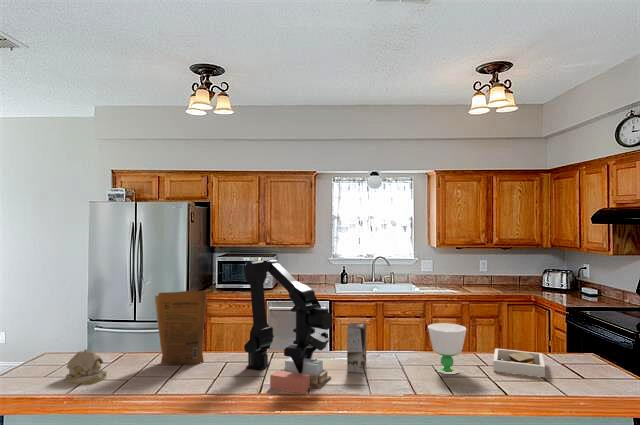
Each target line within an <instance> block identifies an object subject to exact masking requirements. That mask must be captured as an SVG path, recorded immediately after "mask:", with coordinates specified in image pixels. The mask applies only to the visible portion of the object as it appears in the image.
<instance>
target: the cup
mask: <svg viewBox="0 0 640 425" xmlns="http://www.w3.org/2000/svg"><path fill="white" fill-rule="evenodd" d="M427 329H428V334H429V339H430V344H431V347H432V351H434V353H436V354H438V355H440V356H442V357H441V358H440V364H441V366H444V368H441V369H440V370H442V371H445V372H452V371H454V370H453V369H451V368H450V367H453V365H454V359H453V357H454V356H458V355H460V354H461V353H462V351H463V348H464V343H465V338H466V333H467V327H465V326H464V325H460V324H456V323H449V322H448V323H447V322H446V323H444V322H438V323H431V324H429V325H427Z"/></svg>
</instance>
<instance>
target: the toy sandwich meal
mask: <svg viewBox="0 0 640 425" xmlns="http://www.w3.org/2000/svg"><path fill="white" fill-rule="evenodd" d="M526 352H527V351H525V352H520V353H515V354H511V355H509V358H510V359H508V360H500V361H509V362H518V363H526V364H535V362H534V356H532V355H531V354H529V353H526ZM535 365H536V364H535Z"/></svg>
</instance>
